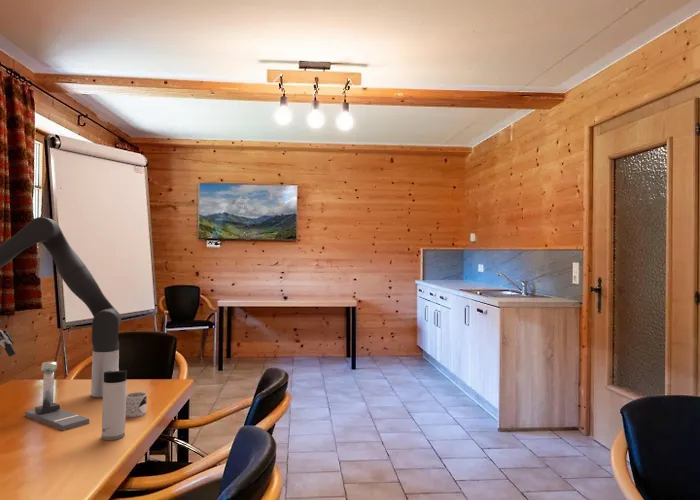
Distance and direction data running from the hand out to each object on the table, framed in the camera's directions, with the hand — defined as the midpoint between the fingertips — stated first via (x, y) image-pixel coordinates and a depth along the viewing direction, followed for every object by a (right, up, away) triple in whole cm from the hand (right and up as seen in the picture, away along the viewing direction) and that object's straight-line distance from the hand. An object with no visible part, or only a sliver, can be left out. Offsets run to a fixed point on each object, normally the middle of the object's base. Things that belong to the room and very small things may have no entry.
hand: (5, 355), depth 166 cm
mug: (+48, -19, -3) cm, 52 cm away
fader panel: (+26, -18, -12) cm, 34 cm away
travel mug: (+51, -19, -26) cm, 61 cm away
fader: (+21, -17, -9) cm, 28 cm away
